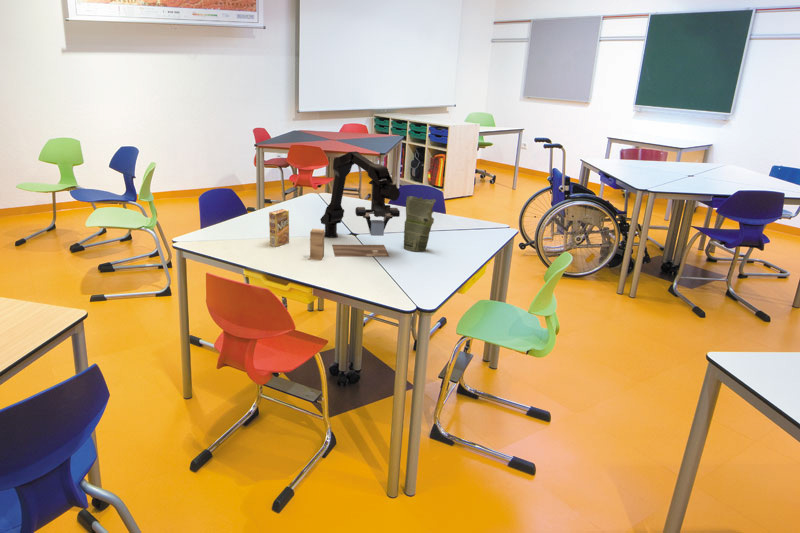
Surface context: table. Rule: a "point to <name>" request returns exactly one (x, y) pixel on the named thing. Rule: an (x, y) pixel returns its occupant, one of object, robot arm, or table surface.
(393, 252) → the table surface
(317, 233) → the oak block
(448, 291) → the table surface
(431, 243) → the table surface
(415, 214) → the pouch
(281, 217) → the candy box
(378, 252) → the board
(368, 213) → the robot arm
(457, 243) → the table surface
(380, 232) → the slate cube
